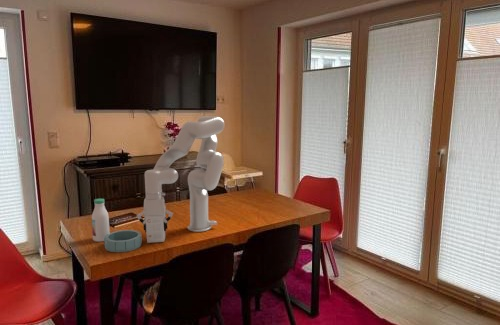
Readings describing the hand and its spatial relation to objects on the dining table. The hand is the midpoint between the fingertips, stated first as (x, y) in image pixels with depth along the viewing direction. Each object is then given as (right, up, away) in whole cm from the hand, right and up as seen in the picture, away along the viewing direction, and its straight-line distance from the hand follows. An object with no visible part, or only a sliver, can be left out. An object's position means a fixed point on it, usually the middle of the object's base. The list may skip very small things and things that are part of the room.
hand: (155, 230), depth 181 cm
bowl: (-14, -6, -6) cm, 16 cm away
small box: (0, -5, +1) cm, 5 cm away
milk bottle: (-27, -5, +3) cm, 28 cm away
